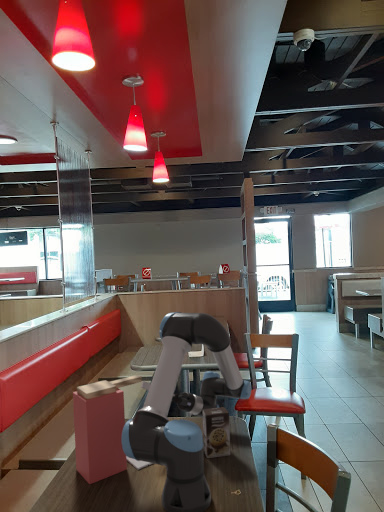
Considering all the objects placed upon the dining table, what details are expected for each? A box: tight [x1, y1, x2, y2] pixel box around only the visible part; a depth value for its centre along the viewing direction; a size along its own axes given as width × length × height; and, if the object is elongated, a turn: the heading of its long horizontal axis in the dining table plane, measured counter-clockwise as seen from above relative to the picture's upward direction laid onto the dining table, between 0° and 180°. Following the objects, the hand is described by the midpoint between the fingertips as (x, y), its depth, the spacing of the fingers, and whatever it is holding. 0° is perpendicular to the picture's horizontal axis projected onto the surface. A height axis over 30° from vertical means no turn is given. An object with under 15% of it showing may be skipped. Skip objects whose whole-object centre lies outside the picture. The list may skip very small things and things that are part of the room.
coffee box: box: [202, 406, 231, 459], centre depth 151 cm, size 9×6×16 cm
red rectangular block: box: [72, 388, 128, 485], centre depth 143 cm, size 14×12×28 cm
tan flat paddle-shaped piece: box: [76, 374, 143, 399], centre depth 146 cm, size 23×9×2 cm, turn 127°
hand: (150, 388), depth 156 cm, fingers open, 13 cm apart
